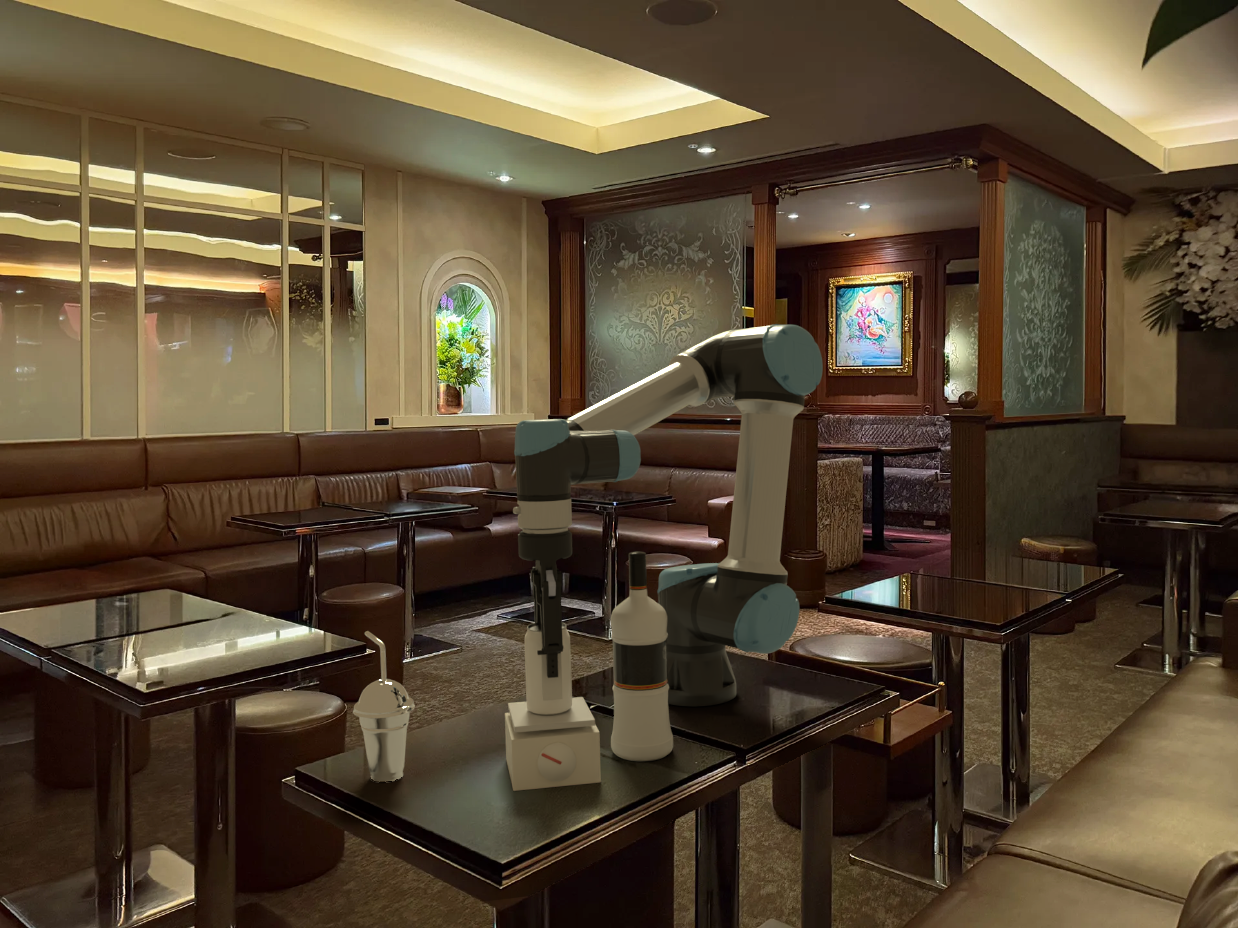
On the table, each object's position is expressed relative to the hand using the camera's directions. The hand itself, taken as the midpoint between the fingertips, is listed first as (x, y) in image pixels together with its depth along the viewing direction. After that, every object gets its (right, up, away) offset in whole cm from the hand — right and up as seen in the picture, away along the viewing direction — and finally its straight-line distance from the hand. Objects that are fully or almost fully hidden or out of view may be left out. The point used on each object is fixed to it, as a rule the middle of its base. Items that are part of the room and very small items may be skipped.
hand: (549, 692), depth 139 cm
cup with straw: (-23, -12, 0) cm, 26 cm away
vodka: (+13, -11, +7) cm, 19 cm away
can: (0, -3, +1) cm, 3 cm away
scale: (0, -11, +1) cm, 11 cm away
